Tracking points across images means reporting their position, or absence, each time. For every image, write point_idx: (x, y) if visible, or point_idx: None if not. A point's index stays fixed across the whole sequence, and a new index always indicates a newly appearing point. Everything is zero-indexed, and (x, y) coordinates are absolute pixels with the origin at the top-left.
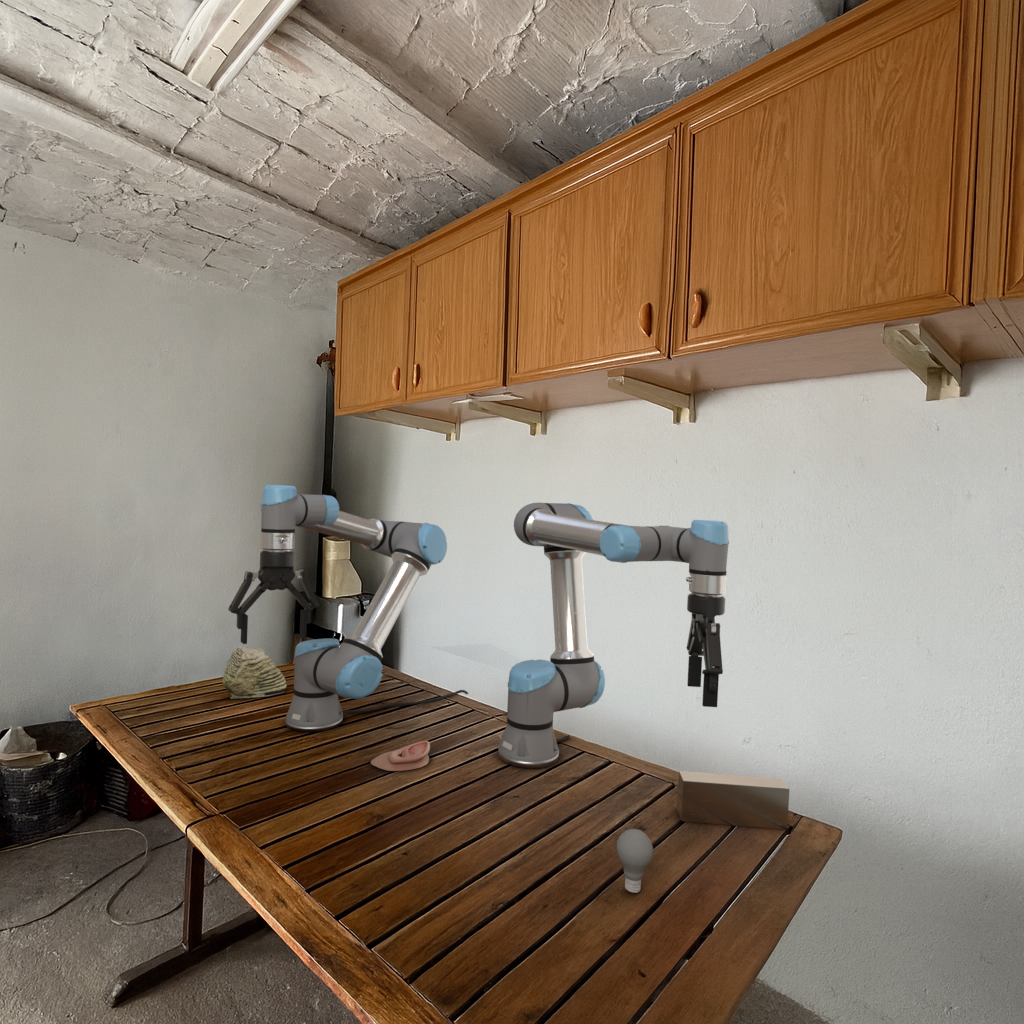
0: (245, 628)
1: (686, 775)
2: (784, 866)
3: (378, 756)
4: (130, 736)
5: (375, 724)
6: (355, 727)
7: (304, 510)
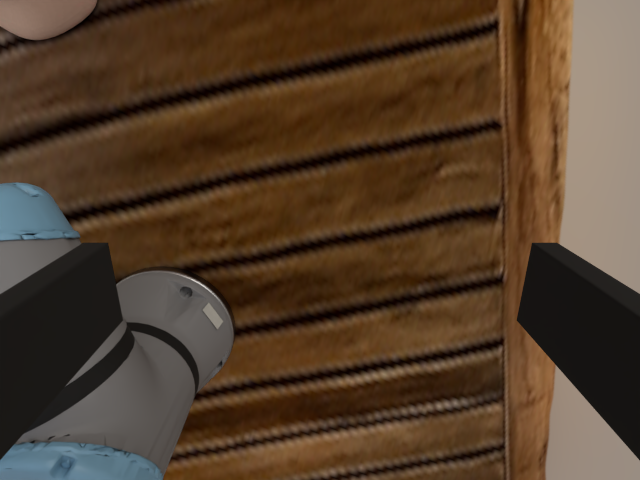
0: (633, 300)
1: None
2: None
3: (66, 2)
4: (516, 410)
5: None
6: None
7: None
